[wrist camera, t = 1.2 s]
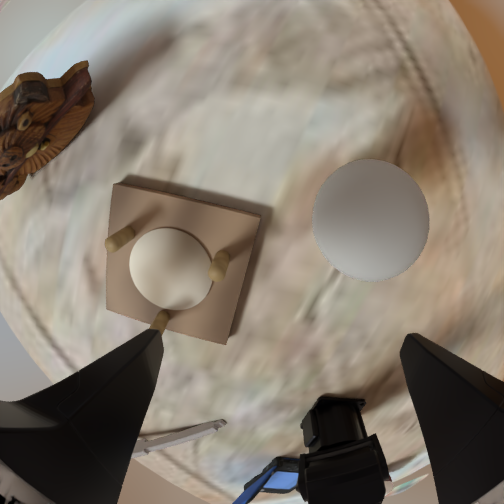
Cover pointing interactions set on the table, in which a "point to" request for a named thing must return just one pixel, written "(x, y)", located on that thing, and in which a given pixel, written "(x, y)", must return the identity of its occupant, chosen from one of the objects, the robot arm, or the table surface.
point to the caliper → (176, 438)
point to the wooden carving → (40, 121)
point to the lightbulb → (370, 220)
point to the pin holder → (176, 261)
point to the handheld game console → (272, 480)
